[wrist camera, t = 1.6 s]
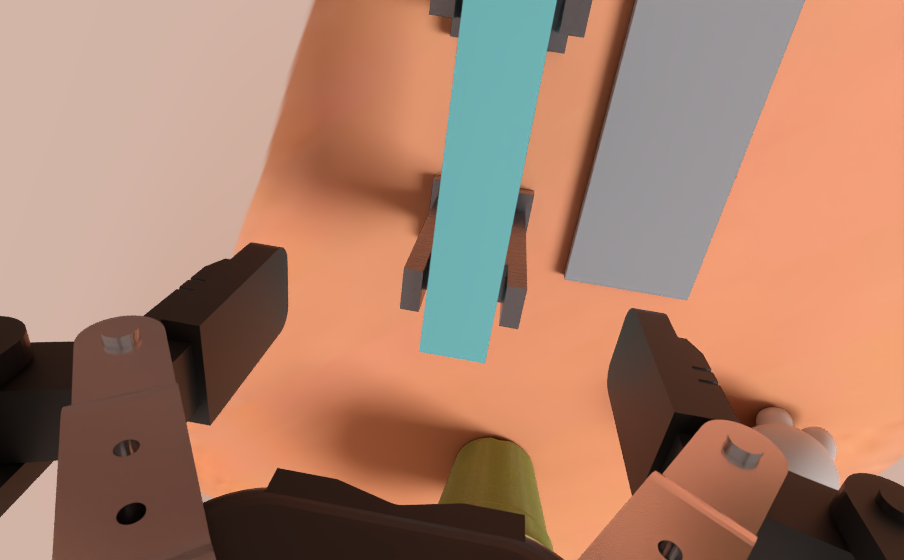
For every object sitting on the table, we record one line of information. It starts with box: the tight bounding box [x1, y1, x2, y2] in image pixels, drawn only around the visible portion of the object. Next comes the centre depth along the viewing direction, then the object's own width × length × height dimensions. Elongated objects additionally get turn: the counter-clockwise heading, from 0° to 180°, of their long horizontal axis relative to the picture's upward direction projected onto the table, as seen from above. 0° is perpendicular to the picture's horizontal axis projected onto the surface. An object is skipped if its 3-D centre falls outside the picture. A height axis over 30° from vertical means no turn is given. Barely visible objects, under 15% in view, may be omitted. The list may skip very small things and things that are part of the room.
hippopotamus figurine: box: [752, 407, 840, 490], centre depth 41 cm, size 7×12×8 cm, turn 71°
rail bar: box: [419, 0, 557, 363], centre depth 25 cm, size 20×4×4 cm, turn 172°
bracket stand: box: [400, 0, 592, 329], centre depth 29 cm, size 19×7×12 cm, turn 172°
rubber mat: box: [564, 0, 805, 300], centre depth 34 cm, size 23×9×1 cm, turn 172°
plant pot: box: [438, 438, 553, 551], centre depth 44 cm, size 12×12×11 cm
